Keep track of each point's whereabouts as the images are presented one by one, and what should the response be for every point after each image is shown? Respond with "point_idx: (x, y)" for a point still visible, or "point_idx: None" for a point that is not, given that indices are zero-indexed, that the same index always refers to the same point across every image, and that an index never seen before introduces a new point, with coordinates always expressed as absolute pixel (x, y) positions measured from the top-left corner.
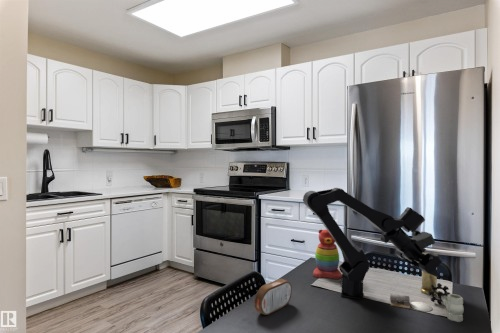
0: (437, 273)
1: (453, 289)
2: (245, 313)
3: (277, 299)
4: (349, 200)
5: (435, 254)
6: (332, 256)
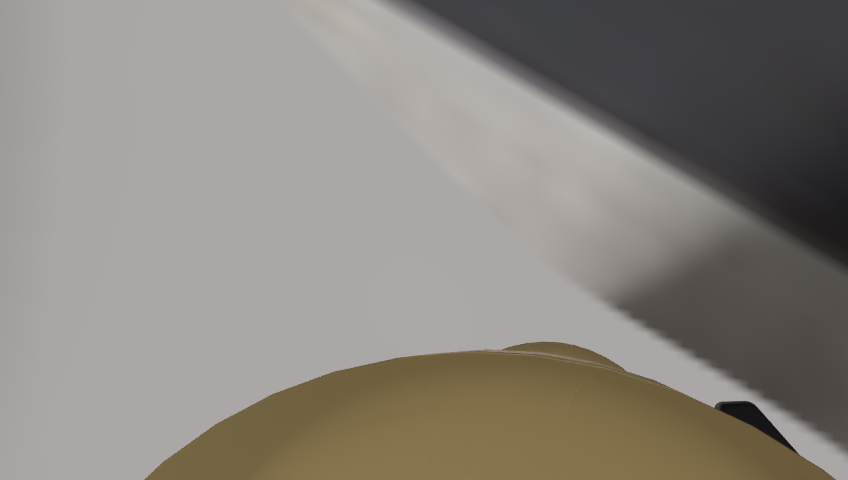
0: None
1: (440, 7)
2: None
3: None
4: None
5: (413, 393)
6: None
